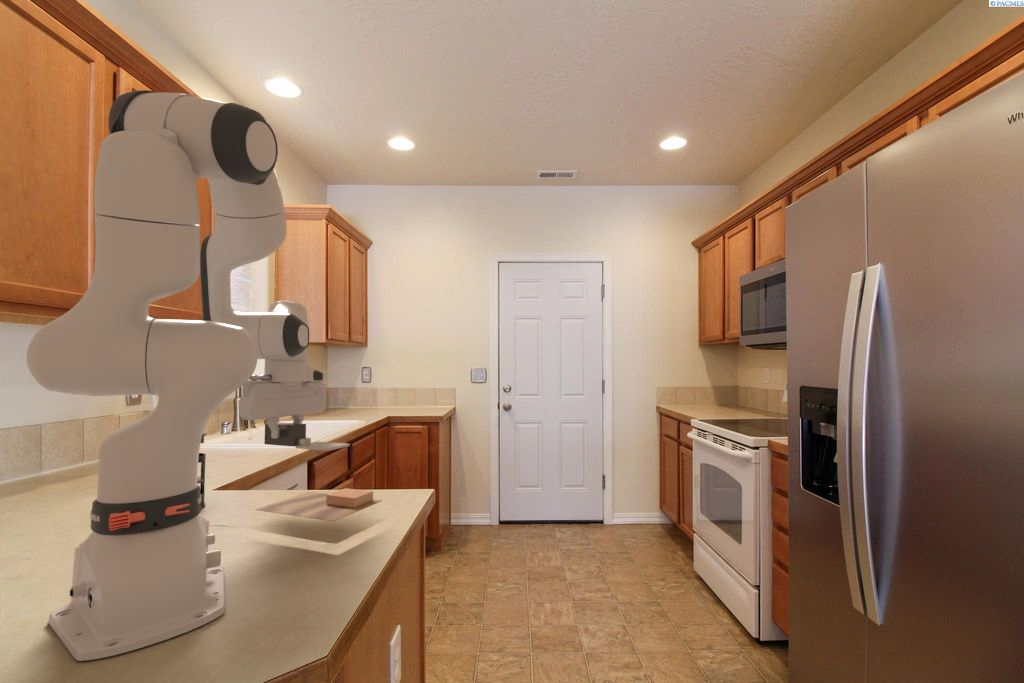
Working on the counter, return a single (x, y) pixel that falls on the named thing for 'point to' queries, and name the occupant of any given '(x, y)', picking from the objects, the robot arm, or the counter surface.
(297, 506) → the board
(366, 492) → the tile
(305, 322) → the robot arm
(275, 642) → the counter surface
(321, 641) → the counter surface
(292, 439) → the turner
